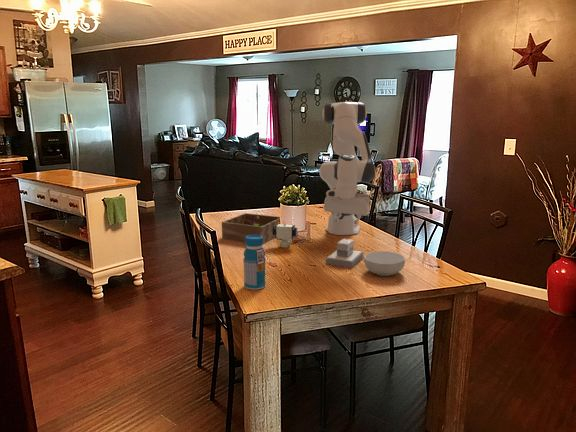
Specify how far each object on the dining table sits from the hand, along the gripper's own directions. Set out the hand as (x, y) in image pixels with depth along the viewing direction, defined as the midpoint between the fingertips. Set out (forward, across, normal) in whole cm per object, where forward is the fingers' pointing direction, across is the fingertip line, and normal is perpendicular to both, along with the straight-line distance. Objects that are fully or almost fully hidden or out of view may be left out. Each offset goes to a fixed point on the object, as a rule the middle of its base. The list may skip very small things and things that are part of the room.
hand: (346, 223), depth 210 cm
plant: (+19, +58, -17) cm, 63 cm away
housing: (+14, 0, +1) cm, 14 cm away
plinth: (+17, 0, +1) cm, 17 cm away
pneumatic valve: (+18, +34, -7) cm, 39 cm away
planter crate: (+18, +58, -17) cm, 63 cm away
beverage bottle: (+17, +21, +46) cm, 53 cm away
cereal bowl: (+17, -20, +9) cm, 28 cm away
